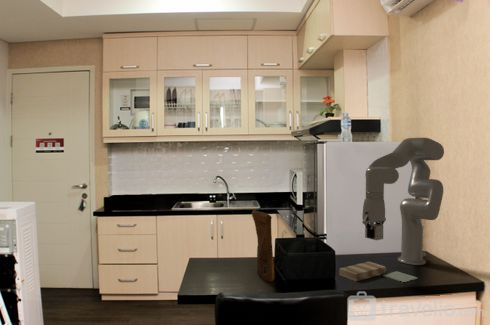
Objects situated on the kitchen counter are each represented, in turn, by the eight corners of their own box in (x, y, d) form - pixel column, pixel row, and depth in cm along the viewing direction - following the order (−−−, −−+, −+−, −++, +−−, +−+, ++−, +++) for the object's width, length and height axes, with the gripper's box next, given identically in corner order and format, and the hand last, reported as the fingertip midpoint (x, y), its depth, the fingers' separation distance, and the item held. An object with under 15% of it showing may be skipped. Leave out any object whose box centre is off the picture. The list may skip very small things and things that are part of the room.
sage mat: (396, 272, 161) (396, 271, 161) (417, 278, 152) (417, 277, 152) (382, 275, 155) (382, 274, 155) (403, 282, 147) (403, 281, 147)
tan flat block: (368, 267, 166) (368, 261, 166) (385, 273, 159) (385, 266, 159) (339, 275, 156) (339, 268, 156) (355, 281, 148) (355, 274, 148)
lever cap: (371, 236, 160) (372, 223, 160) (383, 239, 155) (383, 225, 155) (365, 237, 158) (365, 224, 157) (376, 240, 153) (376, 226, 152)
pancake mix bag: (262, 284, 144) (263, 215, 143) (250, 269, 162) (251, 208, 162) (278, 282, 145) (279, 214, 145) (264, 268, 164) (265, 208, 163)
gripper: (380, 193, 163) (379, 233, 164) (354, 196, 155) (354, 237, 155) (394, 195, 157) (393, 236, 157) (368, 198, 148) (368, 241, 149)
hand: (374, 236), depth 156 cm, fingers closed on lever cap, 4 cm apart
